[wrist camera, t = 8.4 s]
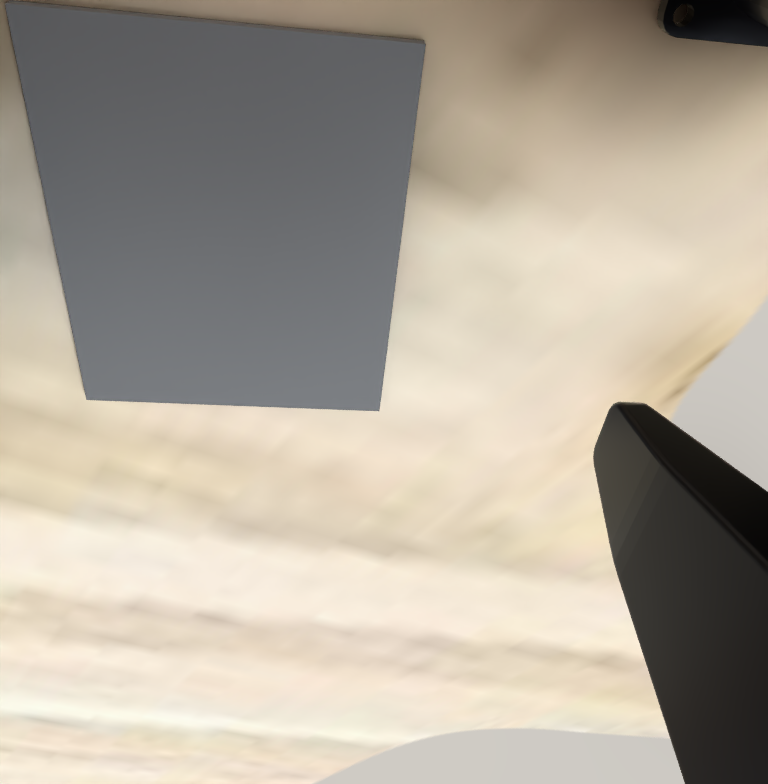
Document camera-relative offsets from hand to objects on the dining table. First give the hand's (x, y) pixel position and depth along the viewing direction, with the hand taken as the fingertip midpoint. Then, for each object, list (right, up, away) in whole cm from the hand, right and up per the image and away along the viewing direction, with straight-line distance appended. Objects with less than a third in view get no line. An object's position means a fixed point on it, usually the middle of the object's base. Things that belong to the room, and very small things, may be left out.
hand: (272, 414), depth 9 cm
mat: (-3, +5, +12) cm, 13 cm away
